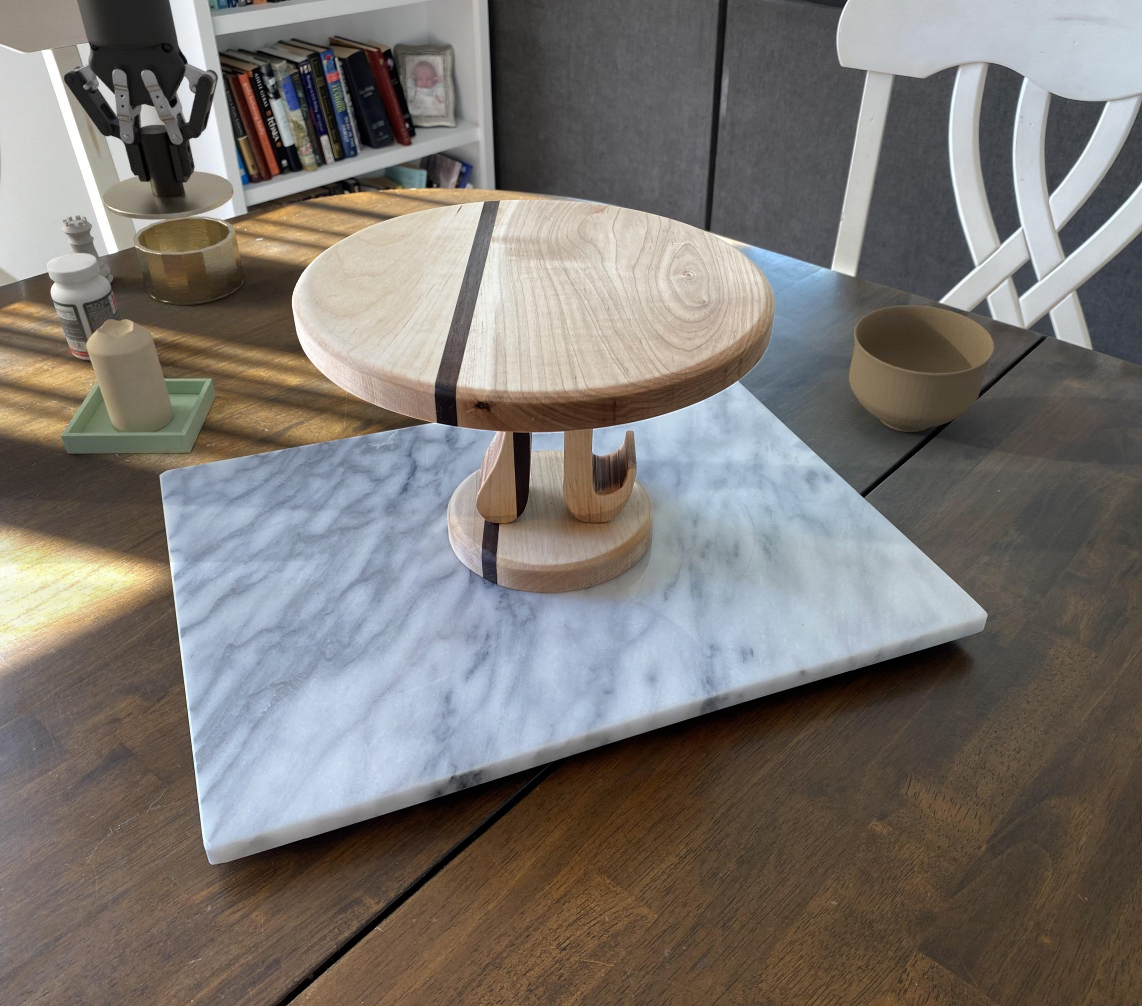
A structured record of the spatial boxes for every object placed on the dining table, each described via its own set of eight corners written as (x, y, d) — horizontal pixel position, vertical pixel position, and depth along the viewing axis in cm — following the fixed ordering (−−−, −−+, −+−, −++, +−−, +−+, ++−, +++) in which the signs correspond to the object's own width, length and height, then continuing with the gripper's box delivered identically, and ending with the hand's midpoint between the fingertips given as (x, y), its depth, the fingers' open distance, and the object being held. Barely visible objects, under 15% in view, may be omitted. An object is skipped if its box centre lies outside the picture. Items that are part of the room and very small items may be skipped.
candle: (124, 442, 86) (92, 346, 80) (104, 416, 89) (72, 322, 83) (183, 422, 89) (157, 328, 83) (161, 398, 92) (135, 305, 86)
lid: (86, 225, 88) (64, 148, 84) (128, 180, 98) (109, 109, 94) (218, 226, 89) (202, 151, 85) (246, 181, 99) (233, 111, 94)
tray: (67, 453, 85) (60, 435, 84) (104, 395, 93) (98, 378, 92) (190, 453, 86) (185, 435, 85) (216, 395, 94) (212, 378, 93)
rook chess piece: (107, 272, 115) (88, 209, 110) (119, 285, 112) (100, 221, 107) (69, 282, 113) (48, 217, 108) (81, 295, 110) (60, 230, 105)
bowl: (809, 405, 96) (828, 316, 89) (902, 378, 100) (927, 292, 94) (895, 471, 87) (923, 378, 81) (992, 438, 92) (1026, 348, 86)
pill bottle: (128, 333, 103) (103, 247, 97) (129, 357, 99) (103, 269, 93) (72, 340, 102) (42, 254, 96) (70, 366, 98) (39, 277, 91)
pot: (134, 305, 109) (119, 253, 105) (162, 264, 117) (149, 215, 113) (232, 305, 109) (221, 254, 105) (252, 265, 118) (243, 216, 114)
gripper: (18, -13, 78) (79, 192, 89) (190, -8, 79) (229, 194, 90) (52, -28, 84) (105, 165, 95) (212, -24, 85) (246, 167, 96)
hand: (165, 178), depth 92 cm, fingers closed on lid, 3 cm apart
